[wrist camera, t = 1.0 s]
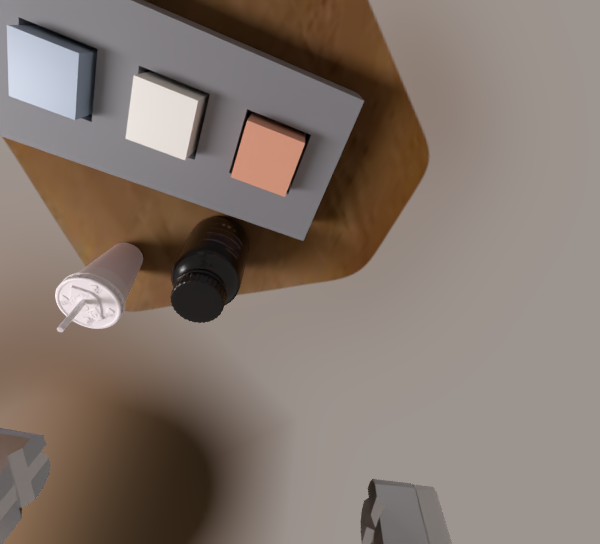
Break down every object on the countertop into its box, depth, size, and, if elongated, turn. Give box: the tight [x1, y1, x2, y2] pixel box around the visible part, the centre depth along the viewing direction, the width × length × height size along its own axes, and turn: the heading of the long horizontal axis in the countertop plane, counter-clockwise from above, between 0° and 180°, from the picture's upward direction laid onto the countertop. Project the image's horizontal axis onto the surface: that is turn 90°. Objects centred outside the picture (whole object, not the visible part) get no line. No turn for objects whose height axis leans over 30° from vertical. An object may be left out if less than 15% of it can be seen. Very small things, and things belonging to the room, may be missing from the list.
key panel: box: [0, 0, 364, 241], centre depth 34 cm, size 30×14×5 cm, turn 69°
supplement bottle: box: [171, 217, 249, 323], centre depth 39 cm, size 7×7×12 cm
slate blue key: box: [7, 25, 98, 120], centre depth 31 cm, size 5×5×4 cm
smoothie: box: [55, 242, 143, 332], centre depth 39 cm, size 6×6×14 cm
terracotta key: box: [231, 112, 305, 197], centre depth 34 cm, size 5×5×4 cm
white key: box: [125, 71, 210, 160], centre depth 32 cm, size 5×5×4 cm
